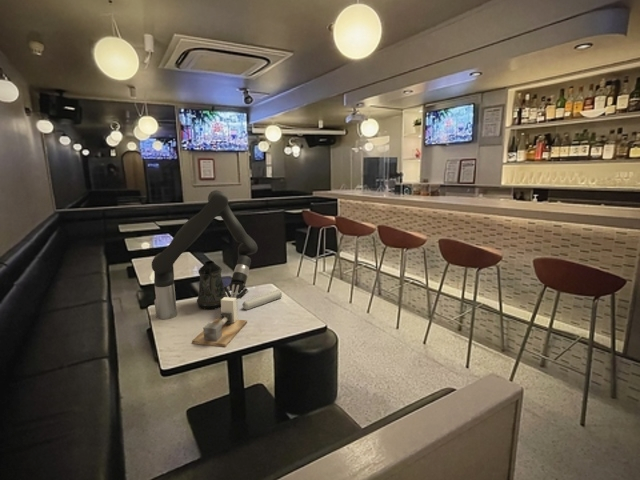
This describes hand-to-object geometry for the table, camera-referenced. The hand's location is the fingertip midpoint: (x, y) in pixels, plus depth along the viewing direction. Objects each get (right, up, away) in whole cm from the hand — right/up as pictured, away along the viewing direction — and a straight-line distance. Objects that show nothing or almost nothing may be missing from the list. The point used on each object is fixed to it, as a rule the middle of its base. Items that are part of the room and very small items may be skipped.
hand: (231, 305), depth 178 cm
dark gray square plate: (-1, -8, -5) cm, 9 cm away
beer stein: (-16, -4, +21) cm, 27 cm away
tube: (+11, -4, +24) cm, 27 cm away
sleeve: (-1, -7, -2) cm, 7 cm away
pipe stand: (-2, -11, -11) cm, 15 cm away
